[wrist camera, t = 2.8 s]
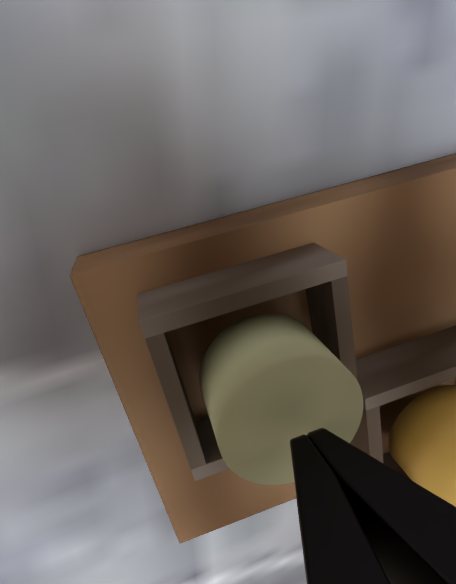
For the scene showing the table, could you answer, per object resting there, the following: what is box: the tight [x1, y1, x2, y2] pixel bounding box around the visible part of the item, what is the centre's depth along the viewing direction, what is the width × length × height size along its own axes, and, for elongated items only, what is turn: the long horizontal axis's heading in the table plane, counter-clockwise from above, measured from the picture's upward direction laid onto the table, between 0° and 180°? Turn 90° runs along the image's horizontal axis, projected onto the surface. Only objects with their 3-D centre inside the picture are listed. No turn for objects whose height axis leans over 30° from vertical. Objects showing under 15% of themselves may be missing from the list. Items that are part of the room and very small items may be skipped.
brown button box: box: [70, 154, 456, 543], centre depth 15 cm, size 21×12×4 cm, turn 103°
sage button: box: [199, 313, 363, 485], centre depth 11 cm, size 4×4×2 cm
